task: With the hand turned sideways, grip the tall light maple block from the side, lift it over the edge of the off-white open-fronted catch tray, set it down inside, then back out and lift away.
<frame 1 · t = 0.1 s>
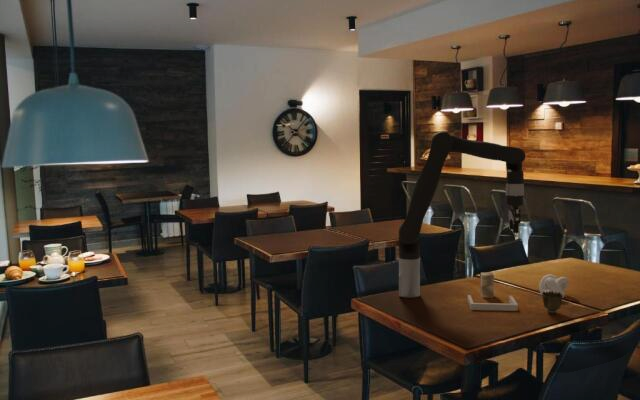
hand: (513, 231, 249), 29 cm above the table, tool pointing down, fingers open, 8 cm apart
cup: (552, 313, 229), on the table
white lumpy cloud shape: (552, 296, 253), on the table
maple block: (487, 296, 255), on the table
catch tray: (491, 305, 241), on the table
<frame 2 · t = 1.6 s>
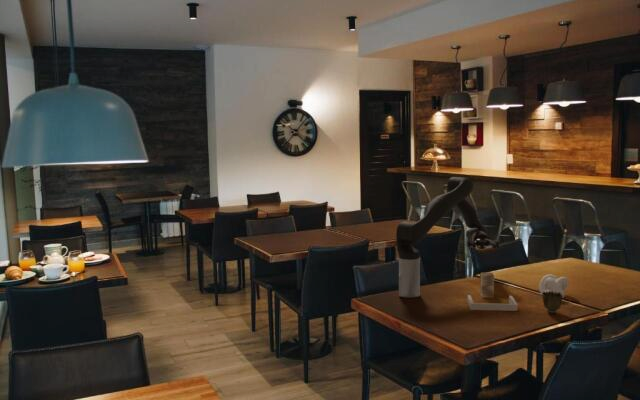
hand: (484, 246, 263), 20 cm above the table, tool horizontal, fingers open, 8 cm apart
nothing on the table moved.
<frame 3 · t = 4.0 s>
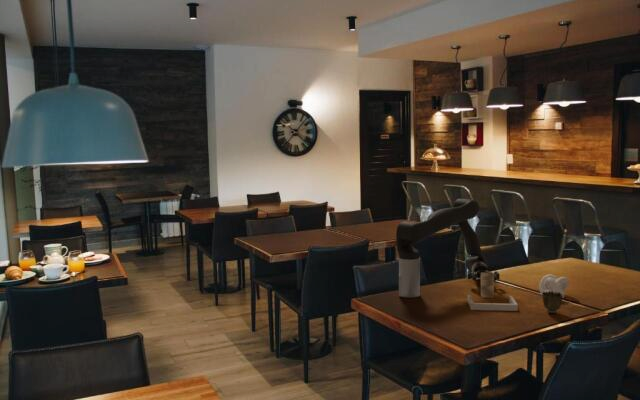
hand: (485, 279, 261), 6 cm above the table, tool horizontal, fingers open, 8 cm apart
nothing on the table moved.
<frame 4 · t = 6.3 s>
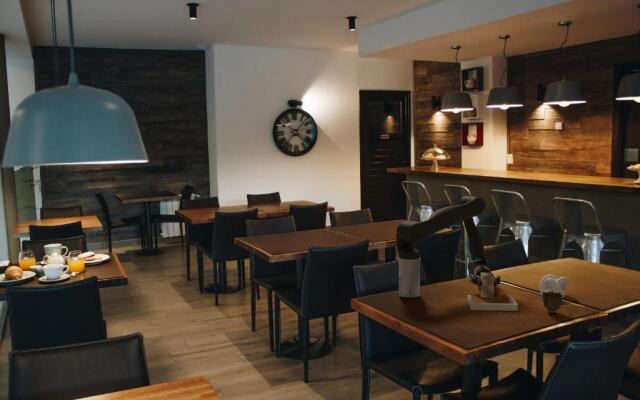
hand: (488, 284, 252), 6 cm above the table, tool horizontal, fingers closed on maple block, 5 cm apart
maple block: (487, 296, 255), on the table, touching gripper
everything else where it was.
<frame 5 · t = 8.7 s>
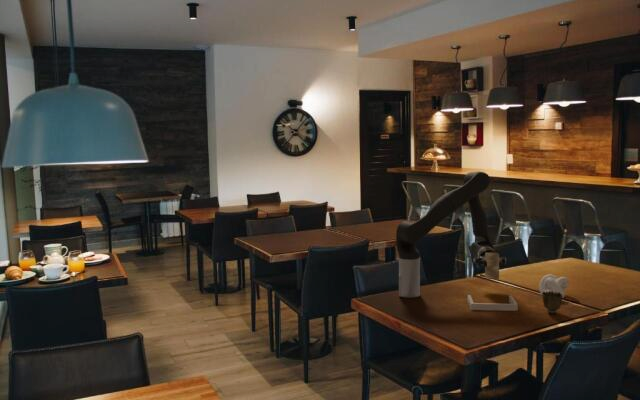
hand: (493, 264, 237), 18 cm above the table, tool horizontal, fingers closed on maple block, 5 cm apart
maple block: (491, 277, 240), point 12 cm above the table, touching gripper
everything else where it was.
when the fingers open (7 cm above the table, at t = 11.1 s): maple block drops 1 cm, on the table.
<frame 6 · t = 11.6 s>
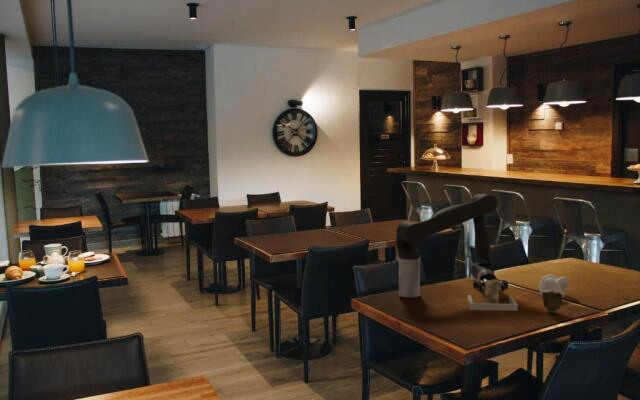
hand: (492, 288, 238), 8 cm above the table, tool horizontal, fingers open, 8 cm apart
maple block: (491, 305, 241), on the table
everything else where it was.
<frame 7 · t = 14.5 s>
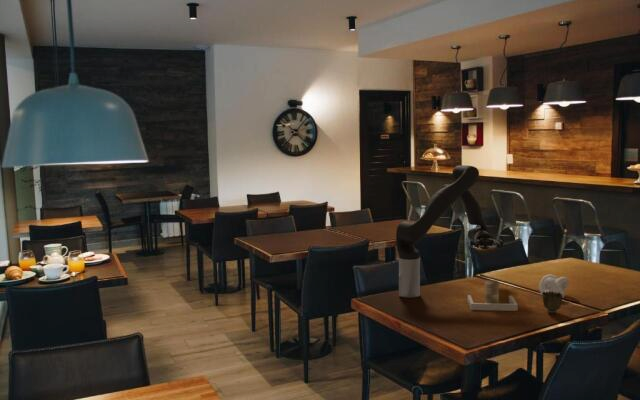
hand: (488, 246, 249), 23 cm above the table, tool horizontal, fingers open, 8 cm apart
nothing on the table moved.
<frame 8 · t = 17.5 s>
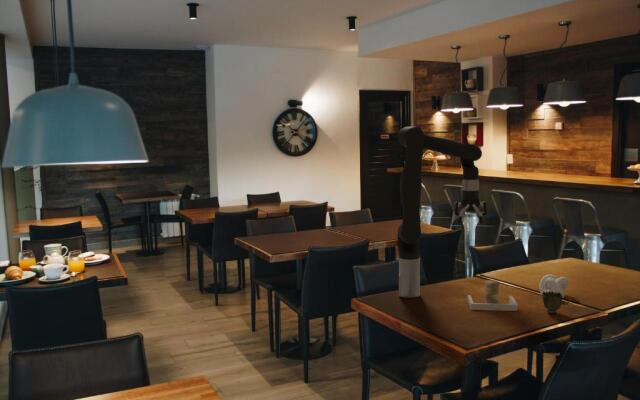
hand: (470, 224, 265), 30 cm above the table, tool pointing down, fingers open, 8 cm apart
nothing on the table moved.
at the end: maple block inside the target area on the catch tray (0.3 cm from its centre), point 0.0 cm above the catch tray's base; maple block tilted 0°; the gripper is holding nothing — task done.
